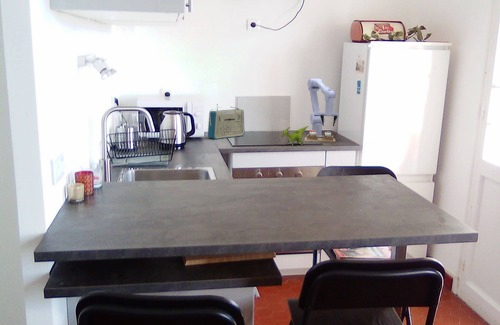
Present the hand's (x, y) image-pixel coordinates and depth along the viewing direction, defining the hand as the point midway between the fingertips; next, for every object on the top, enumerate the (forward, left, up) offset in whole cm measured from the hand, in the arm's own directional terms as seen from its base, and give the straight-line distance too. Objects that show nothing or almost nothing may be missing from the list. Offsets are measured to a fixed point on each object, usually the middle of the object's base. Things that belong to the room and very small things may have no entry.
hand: (328, 125), depth 352 cm
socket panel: (+4, -5, -10) cm, 12 cm away
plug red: (+4, -11, -7) cm, 14 cm away
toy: (+25, -22, -11) cm, 35 cm away
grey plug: (+4, 0, -7) cm, 8 cm away
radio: (+9, -74, -11) cm, 75 cm away
